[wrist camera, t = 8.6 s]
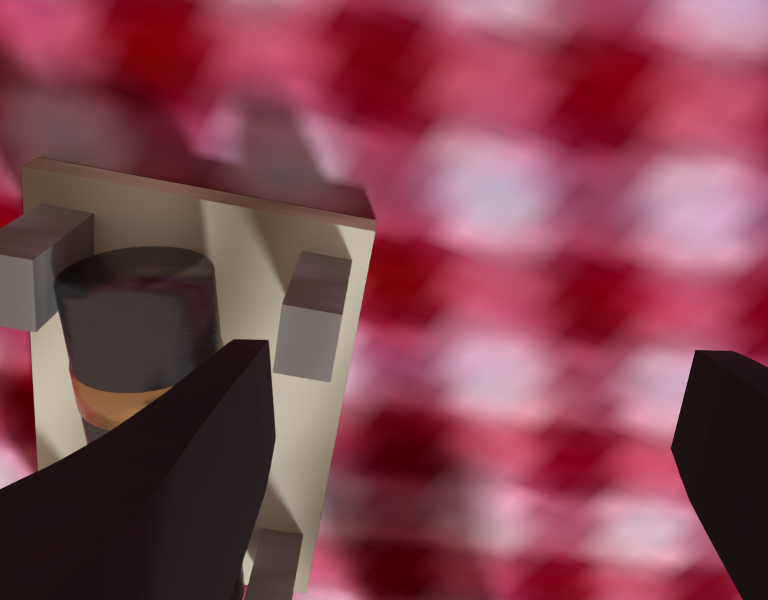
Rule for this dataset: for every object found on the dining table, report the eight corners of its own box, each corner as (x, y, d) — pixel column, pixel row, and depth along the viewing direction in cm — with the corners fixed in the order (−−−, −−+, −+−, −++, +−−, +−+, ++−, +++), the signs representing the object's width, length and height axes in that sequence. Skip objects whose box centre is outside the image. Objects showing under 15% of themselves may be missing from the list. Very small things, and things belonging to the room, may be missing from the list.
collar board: (376, 219, 20) (369, 282, 16) (309, 572, 26) (292, 680, 22) (38, 157, 19) (-58, 205, 15) (55, 533, 26) (-10, 636, 22)
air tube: (256, 548, 25) (231, 649, 21) (145, 545, 25) (102, 645, 21) (231, 247, 19) (192, 312, 16) (90, 243, 19) (19, 307, 16)
